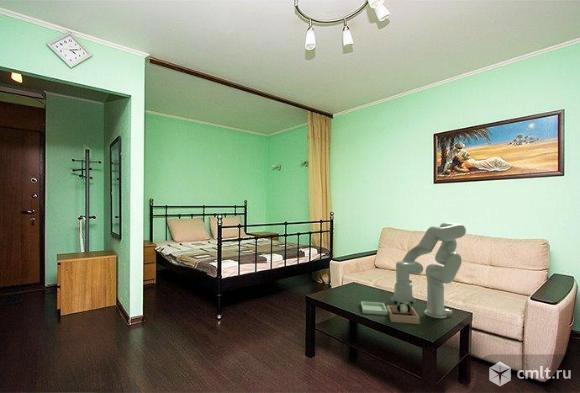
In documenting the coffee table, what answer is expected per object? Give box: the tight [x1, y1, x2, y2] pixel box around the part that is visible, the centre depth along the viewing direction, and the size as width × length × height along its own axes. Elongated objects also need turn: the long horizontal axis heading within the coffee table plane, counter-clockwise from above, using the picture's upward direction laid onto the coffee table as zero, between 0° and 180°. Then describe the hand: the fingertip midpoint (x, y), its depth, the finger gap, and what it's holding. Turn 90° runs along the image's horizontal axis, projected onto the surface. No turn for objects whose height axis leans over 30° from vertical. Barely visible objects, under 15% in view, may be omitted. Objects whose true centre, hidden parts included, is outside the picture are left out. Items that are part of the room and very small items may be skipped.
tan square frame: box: [386, 305, 420, 325], centre depth 171 cm, size 16×16×4 cm
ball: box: [399, 303, 408, 314], centre depth 171 cm, size 5×5×5 cm
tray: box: [360, 300, 389, 316], centre depth 183 cm, size 15×15×2 cm
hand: (403, 311), depth 171 cm, fingers closed on ball, 4 cm apart
